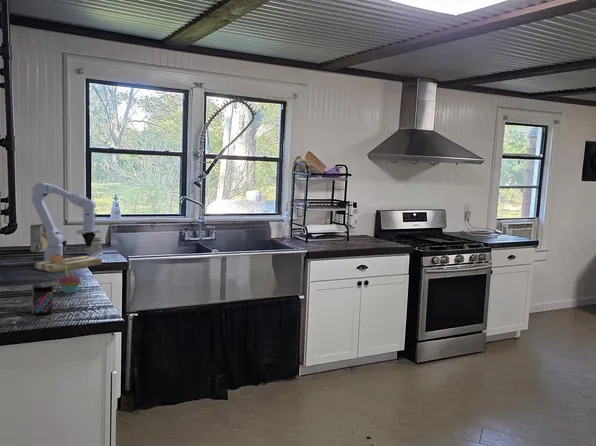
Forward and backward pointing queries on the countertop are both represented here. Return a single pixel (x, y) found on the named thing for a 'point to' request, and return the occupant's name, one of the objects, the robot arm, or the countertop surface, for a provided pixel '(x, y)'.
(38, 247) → the coffee box
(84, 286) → the countertop surface
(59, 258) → the fader knob
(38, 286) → the supplement container
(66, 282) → the cupcake
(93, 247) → the french press
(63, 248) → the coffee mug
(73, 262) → the fader console
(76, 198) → the robot arm
